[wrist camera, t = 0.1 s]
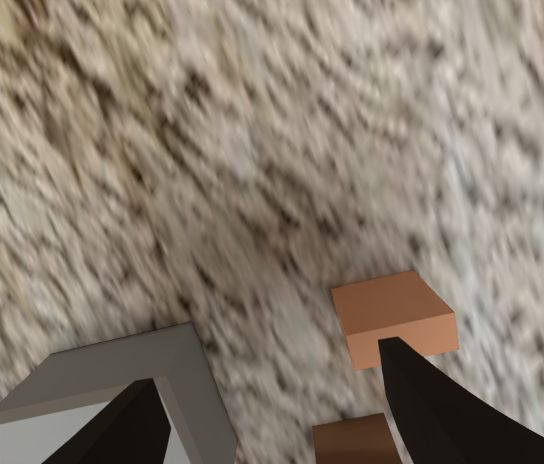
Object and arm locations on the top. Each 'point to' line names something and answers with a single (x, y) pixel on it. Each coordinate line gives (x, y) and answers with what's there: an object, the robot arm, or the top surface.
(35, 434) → the coin box
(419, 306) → the block
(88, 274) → the top surface
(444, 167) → the top surface
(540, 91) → the top surface
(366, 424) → the block
